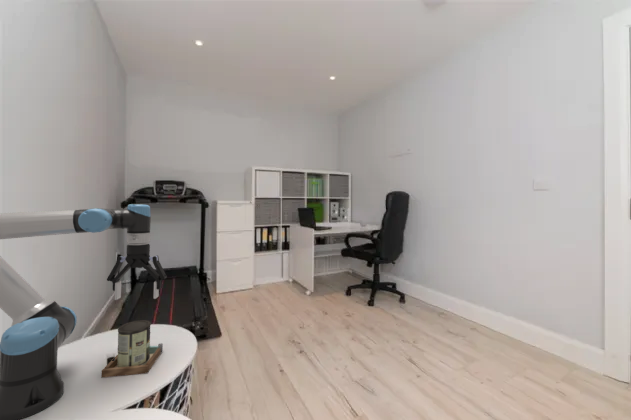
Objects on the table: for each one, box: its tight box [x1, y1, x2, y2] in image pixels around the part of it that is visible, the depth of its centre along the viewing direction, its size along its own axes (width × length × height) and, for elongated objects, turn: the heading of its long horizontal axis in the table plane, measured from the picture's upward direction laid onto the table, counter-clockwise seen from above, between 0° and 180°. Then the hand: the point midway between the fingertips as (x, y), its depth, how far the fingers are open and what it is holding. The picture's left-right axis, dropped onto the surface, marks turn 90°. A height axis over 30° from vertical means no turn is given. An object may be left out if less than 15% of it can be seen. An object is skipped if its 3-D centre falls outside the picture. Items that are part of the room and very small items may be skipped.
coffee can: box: [117, 319, 152, 367], centre depth 99 cm, size 10×10×14 cm
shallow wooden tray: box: [100, 348, 162, 379], centre depth 98 cm, size 14×13×2 cm
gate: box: [150, 343, 164, 354], centre depth 106 cm, size 14×2×3 cm, turn 97°
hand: (137, 298), depth 101 cm, fingers open, 13 cm apart
